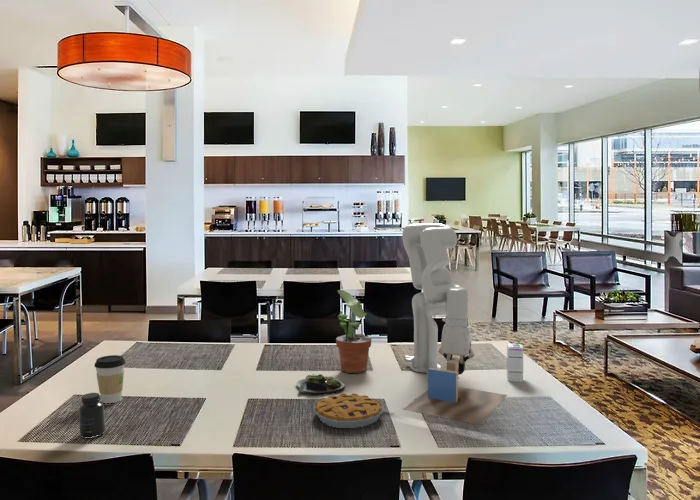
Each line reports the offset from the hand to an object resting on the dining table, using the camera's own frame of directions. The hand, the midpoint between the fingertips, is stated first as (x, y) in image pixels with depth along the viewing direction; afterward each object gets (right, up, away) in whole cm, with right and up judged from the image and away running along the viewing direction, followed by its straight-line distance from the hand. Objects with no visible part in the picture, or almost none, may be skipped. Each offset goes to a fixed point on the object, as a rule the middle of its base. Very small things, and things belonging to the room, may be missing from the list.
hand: (456, 372), depth 202 cm
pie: (-39, -10, -22) cm, 46 cm away
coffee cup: (-120, -8, -8) cm, 121 cm away
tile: (-6, -7, -10) cm, 13 cm away
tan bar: (-1, 0, -3) cm, 3 cm away
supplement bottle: (-114, -11, -35) cm, 120 cm away
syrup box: (+24, -7, +11) cm, 27 cm away
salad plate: (-49, -8, +6) cm, 50 cm away
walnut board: (-2, -9, -13) cm, 16 cm away
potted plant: (-36, -5, +26) cm, 45 cm away
